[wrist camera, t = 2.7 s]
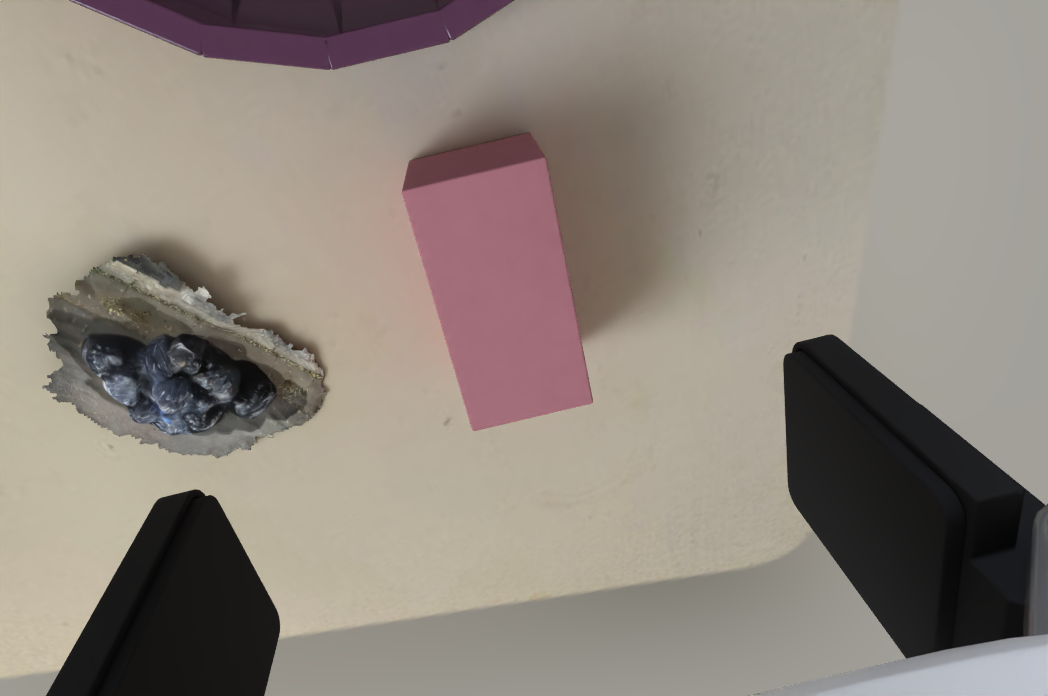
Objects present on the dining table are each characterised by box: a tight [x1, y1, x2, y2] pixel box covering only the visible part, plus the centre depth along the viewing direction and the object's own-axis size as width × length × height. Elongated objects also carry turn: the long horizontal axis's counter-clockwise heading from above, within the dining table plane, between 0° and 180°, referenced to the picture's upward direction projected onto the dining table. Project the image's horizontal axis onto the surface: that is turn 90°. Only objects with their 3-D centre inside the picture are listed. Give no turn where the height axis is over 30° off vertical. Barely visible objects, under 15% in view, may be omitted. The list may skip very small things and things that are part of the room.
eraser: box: [402, 133, 593, 431], centre depth 19 cm, size 7×4×4 cm, turn 12°
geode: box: [42, 253, 327, 458], centre depth 20 cm, size 7×8×2 cm
